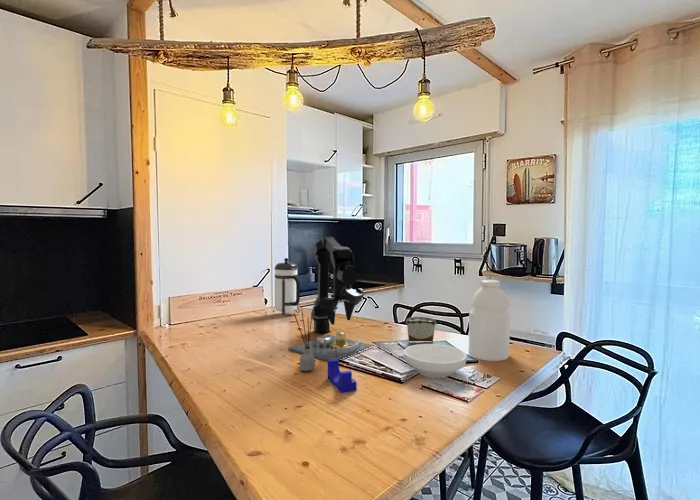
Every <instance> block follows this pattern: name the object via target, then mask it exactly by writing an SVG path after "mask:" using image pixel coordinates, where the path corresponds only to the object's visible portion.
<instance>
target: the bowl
mask: <svg viewBox="0 0 700 500" xmlns="http://www.w3.org/2000/svg"><path fill="white" fill-rule="evenodd" d="M403 357H404V361H405V363H407V365H409V366H410V367H412V368H413V369H414V370H416V371H417V372H418V374H420V375H421V376H423V377H424V378H425V377H426V378H431V379H444V378H448V377H450V376H451V375H452V374H454V373H456V372H458V371H459V370H460V369H463V368H464V367H465V366H466V363H467V359H468V355H467V353H466V352H465V351H463V350H462V349H460V348H457V347H454V346H450V345H447V344H446V345H444V344H437V343H418V344H414V345H413V344H412V345H410V346H407V347H406V348H405V349H403Z"/></svg>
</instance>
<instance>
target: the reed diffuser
mask: <svg viewBox="0 0 700 500" xmlns="http://www.w3.org/2000/svg"><path fill="white" fill-rule="evenodd" d="M300 312H301V316H302V317H301V318H302V323H303V331H304V336H303V334H302V331H301V330H302V329H301V328H300V327H301V326H300V325H299V322H298V319H297V316H296V313H293V315H294V318H295V320H296V323H297V326H298V330H299V332H300V335H301V338H302V341H303V343H304V344H305V342H306V344H305V348H304V354H301V356H300V357H299V369H300V370H301V371H305V372H306V371H307V372H308V371H313V370H314V369H315V367H316V366H315V365H316V360H315V357H314V356H313V355H312V354H311V353H310V347H309V341H310V339H311V338H310V337H311V328H312V321H313V320H312V314H311V313H310V320H309V318H307V335H306V329H305V327H306V326H305V320H304V314H303V308H301V309H300ZM309 321H310V324H309ZM304 339H305V340H304ZM307 341H308V347H306V346H307Z"/></svg>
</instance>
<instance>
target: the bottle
mask: <svg viewBox="0 0 700 500" xmlns="http://www.w3.org/2000/svg"><path fill="white" fill-rule="evenodd" d="M500 287H501V281H500V280H497V279H482V280H480V287H479V288H478V289H477V290H476V291H475V292H474V294H473V295H472V297H471V300H470V304H471V305H472V308H471V310H469V313H468V315H469V317H468V318H469V319H468V320H469V323H468V328H469V329H468V351H467V352H468V355H469V356H470V357H472V358H474V359H478V360H483V361H488V362H489V361H491V362H499V361H505V360H507V359H509V358H510V334H511V333H510V332H511V314H510V313H509V312H508V308H509V307H510V305H511V304H510V302H509V301H510V300H509V298H508V297H507V296H508V295H506V294H505V292H504V291H503V290H502V289H501V288H500Z"/></svg>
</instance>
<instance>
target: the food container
mask: <svg viewBox="0 0 700 500" xmlns="http://www.w3.org/2000/svg"><path fill="white" fill-rule="evenodd" d="M405 324H406V326H407V327H406V328H407V337H408V342H409V341H432V342H433V343H434V335H435V330H436V329H435V328H436V326H437V325H438V324H437V321H436V319H434V318H433V317H432V318H431V317H428V316H426V317H425V316H411V317H408V318H407V319H406V320H405Z"/></svg>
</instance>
